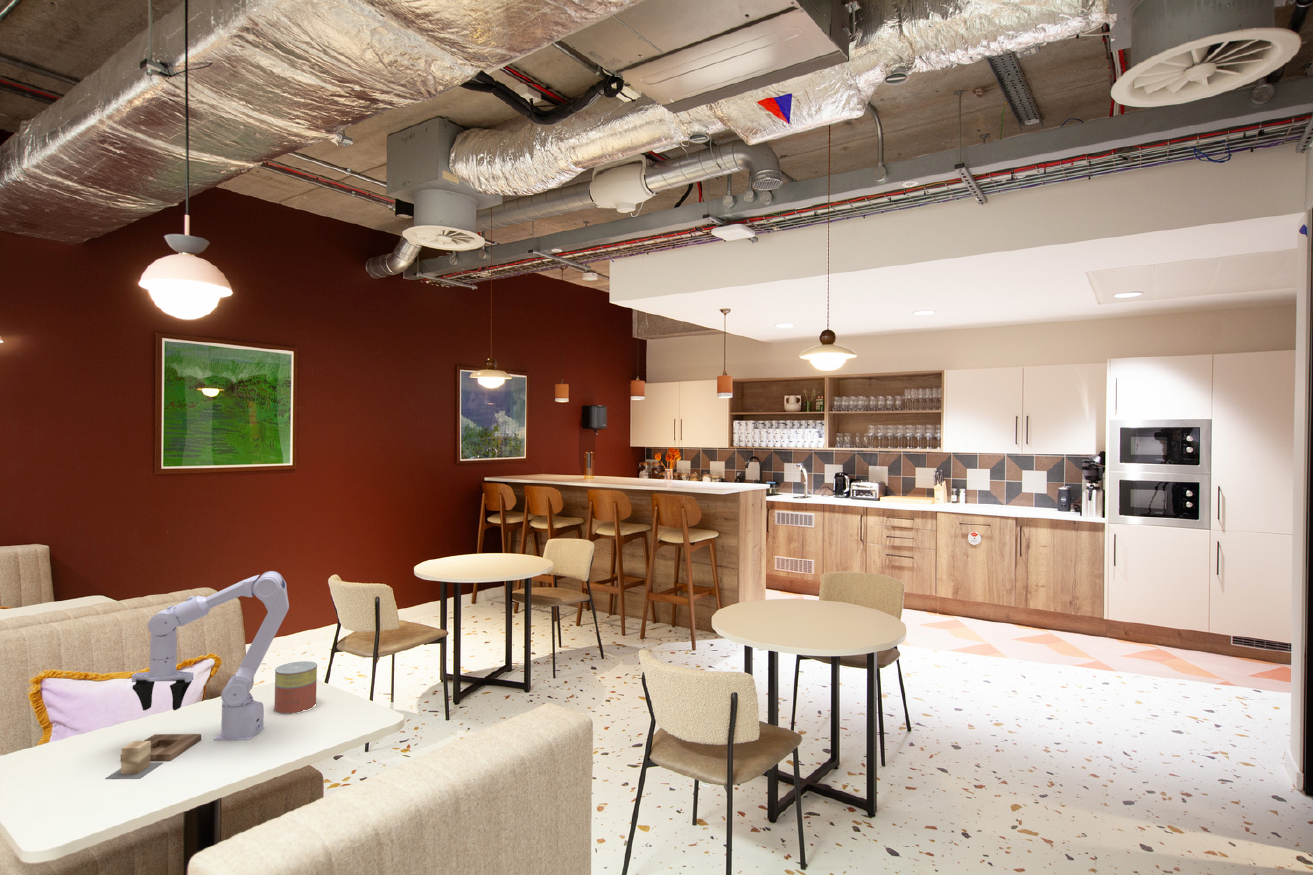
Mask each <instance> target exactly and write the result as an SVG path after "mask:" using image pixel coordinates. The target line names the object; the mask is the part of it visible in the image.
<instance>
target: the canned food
mask: <svg viewBox="0 0 1313 875" xmlns="http://www.w3.org/2000/svg"><path fill="white" fill-rule="evenodd" d="M317 670H318V664H317V663H316V662H314V661H308V660H307V661H304V660H301V661H295V662H288V663H284V664H282V665H279V666H277V667H275V669H274V671H275V673H274V675H275V676H274V678H275V679H274V680H275V681H274V708H273V711H274V710H275V711H274V712H275V713H276V712H277V713H276V714H278V713H280V714H279V715H293V714H292V713H296V714H298V713H297V712H301V711H303V710H308V709H310V708H312V707H313V706H314V705H315V704H316V705H317V679H318V678H317V675H318V673H317V672H318V671H317ZM312 709H313V708H312ZM310 710H311V709H310ZM308 711H309V710H308ZM301 713H302V712H301Z"/></svg>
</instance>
